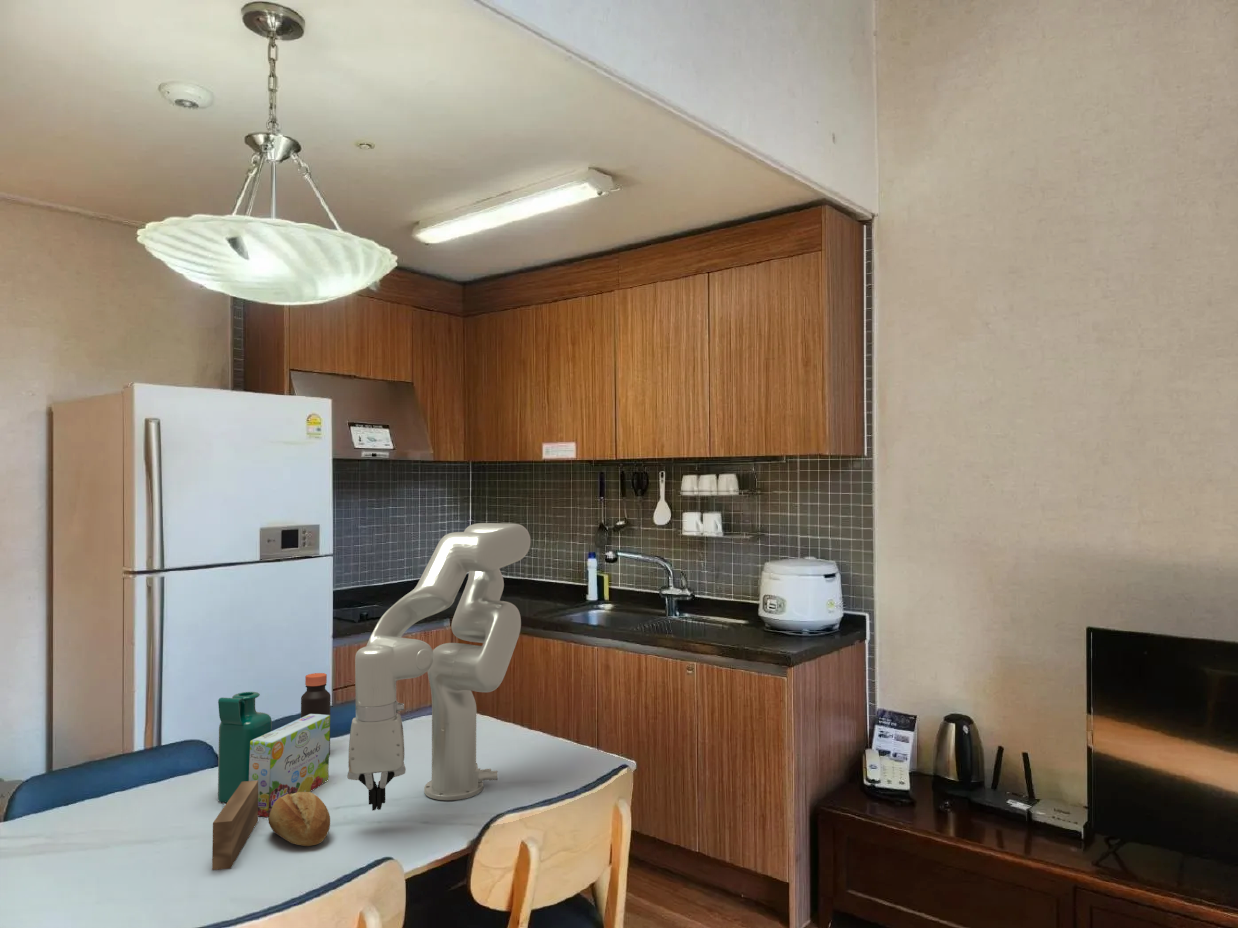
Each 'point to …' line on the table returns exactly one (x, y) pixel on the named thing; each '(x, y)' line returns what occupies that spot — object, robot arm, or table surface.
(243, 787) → the walnut board
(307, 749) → the snack box
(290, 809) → the bread roll
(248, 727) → the pitcher
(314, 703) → the bottle
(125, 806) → the table surface
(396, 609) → the robot arm
